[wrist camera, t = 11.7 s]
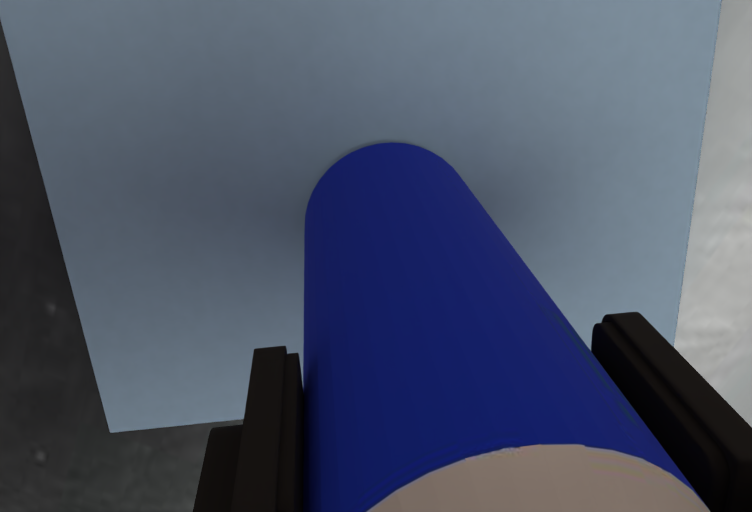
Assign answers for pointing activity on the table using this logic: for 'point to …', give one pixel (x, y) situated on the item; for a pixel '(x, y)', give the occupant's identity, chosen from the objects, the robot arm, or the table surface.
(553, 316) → the beverage can
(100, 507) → the table surface
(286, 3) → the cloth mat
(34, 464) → the table surface
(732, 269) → the table surface
